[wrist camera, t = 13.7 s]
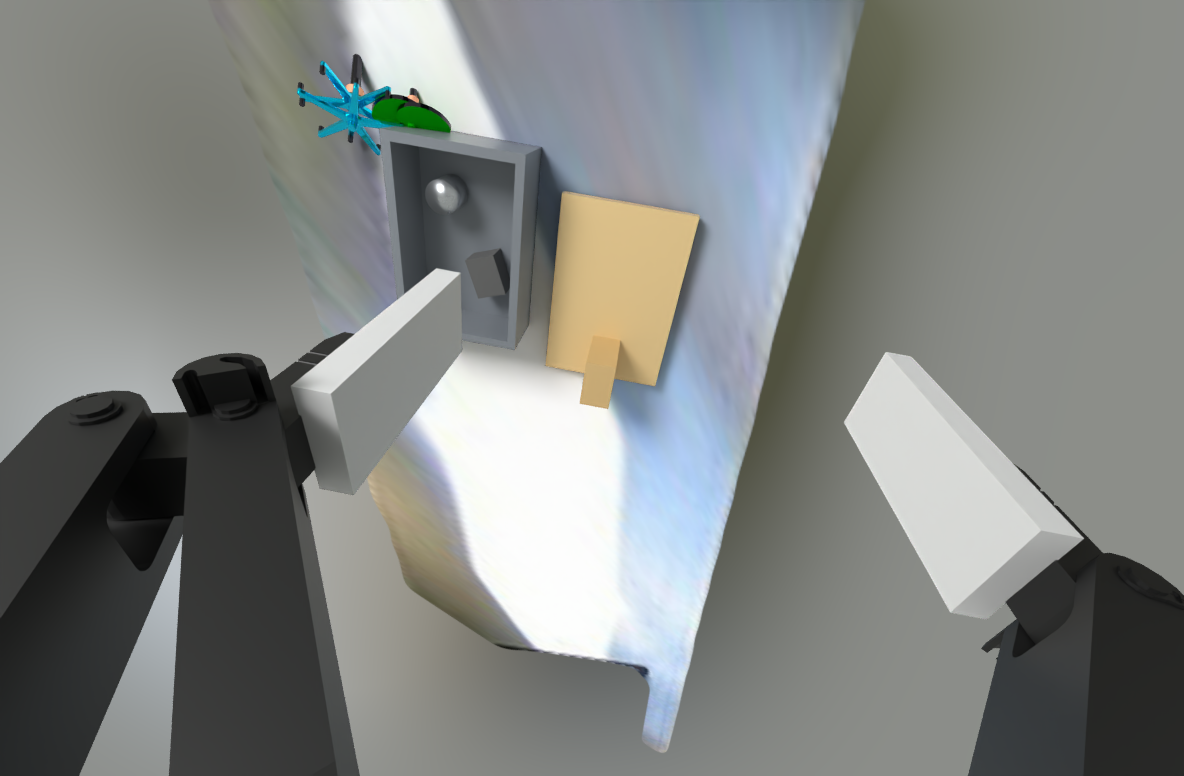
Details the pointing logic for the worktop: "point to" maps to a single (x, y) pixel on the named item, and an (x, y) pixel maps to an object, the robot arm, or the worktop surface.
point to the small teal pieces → (384, 109)
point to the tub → (465, 220)
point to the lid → (615, 290)
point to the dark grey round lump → (446, 194)
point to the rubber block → (488, 273)
